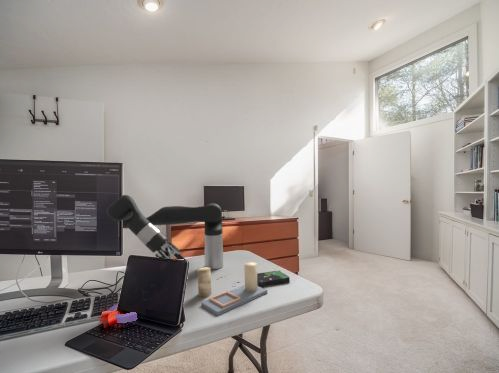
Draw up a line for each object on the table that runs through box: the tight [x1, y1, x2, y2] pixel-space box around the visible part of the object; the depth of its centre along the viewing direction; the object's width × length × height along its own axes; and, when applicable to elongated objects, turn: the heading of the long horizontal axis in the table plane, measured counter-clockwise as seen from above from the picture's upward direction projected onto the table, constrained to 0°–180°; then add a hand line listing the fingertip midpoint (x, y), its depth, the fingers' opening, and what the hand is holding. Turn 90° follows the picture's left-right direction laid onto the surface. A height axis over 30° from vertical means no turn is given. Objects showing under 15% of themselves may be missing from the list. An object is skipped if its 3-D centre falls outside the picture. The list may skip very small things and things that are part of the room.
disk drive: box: [257, 270, 291, 288], centre depth 113 cm, size 10×3×15 cm
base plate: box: [200, 262, 268, 316], centre depth 96 cm, size 10×24×11 cm, turn 133°
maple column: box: [197, 266, 212, 298], centre depth 101 cm, size 5×5×10 cm
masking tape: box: [107, 303, 138, 323], centre depth 84 cm, size 12×12×4 cm
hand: (182, 266), depth 100 cm, fingers open, 8 cm apart
